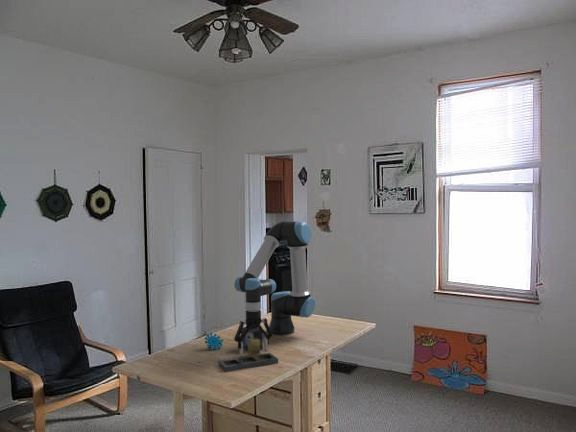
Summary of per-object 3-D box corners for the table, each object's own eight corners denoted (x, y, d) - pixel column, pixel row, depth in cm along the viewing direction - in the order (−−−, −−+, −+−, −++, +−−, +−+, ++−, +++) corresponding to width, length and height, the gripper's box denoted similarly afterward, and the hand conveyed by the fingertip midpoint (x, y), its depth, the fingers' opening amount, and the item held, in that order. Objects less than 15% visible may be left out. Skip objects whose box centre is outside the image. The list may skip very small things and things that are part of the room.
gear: (208, 349, 248) (203, 332, 254) (203, 355, 251) (198, 338, 257) (227, 347, 255) (221, 331, 261) (222, 354, 258) (217, 337, 264)
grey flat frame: (269, 356, 240) (269, 352, 240) (278, 362, 231) (278, 358, 231) (218, 365, 229) (218, 360, 229) (225, 371, 220) (225, 367, 219)
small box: (240, 347, 255) (239, 328, 255) (249, 345, 260) (249, 325, 259) (254, 352, 248) (253, 331, 247) (263, 349, 253) (263, 328, 252)
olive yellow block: (256, 353, 246) (256, 337, 245) (259, 355, 241) (259, 339, 241) (248, 354, 244) (247, 338, 243) (251, 357, 240) (251, 341, 239)
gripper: (272, 306, 250) (273, 347, 251) (227, 311, 240) (227, 354, 241) (278, 308, 244) (279, 351, 244) (232, 314, 233) (232, 358, 234)
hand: (253, 353), depth 242 cm, fingers open, 12 cm apart
